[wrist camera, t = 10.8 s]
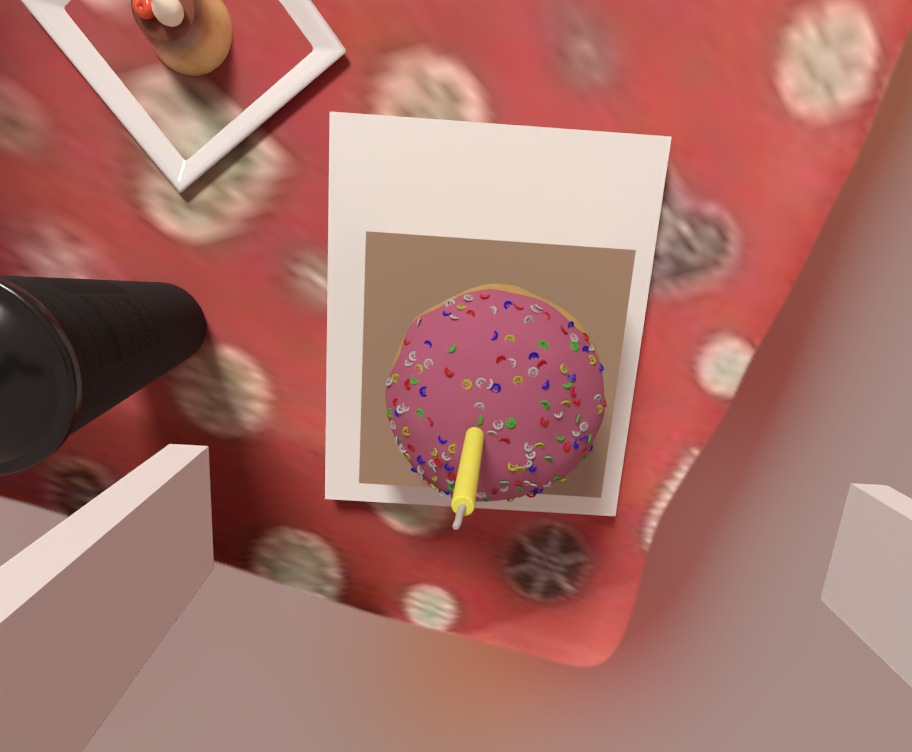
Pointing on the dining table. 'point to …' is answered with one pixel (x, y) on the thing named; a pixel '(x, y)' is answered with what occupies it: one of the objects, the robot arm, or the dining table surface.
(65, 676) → the robot arm
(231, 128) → the white square frame
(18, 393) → the drinking cup
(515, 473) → the cupcake
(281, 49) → the dining table surface
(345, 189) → the plinth
